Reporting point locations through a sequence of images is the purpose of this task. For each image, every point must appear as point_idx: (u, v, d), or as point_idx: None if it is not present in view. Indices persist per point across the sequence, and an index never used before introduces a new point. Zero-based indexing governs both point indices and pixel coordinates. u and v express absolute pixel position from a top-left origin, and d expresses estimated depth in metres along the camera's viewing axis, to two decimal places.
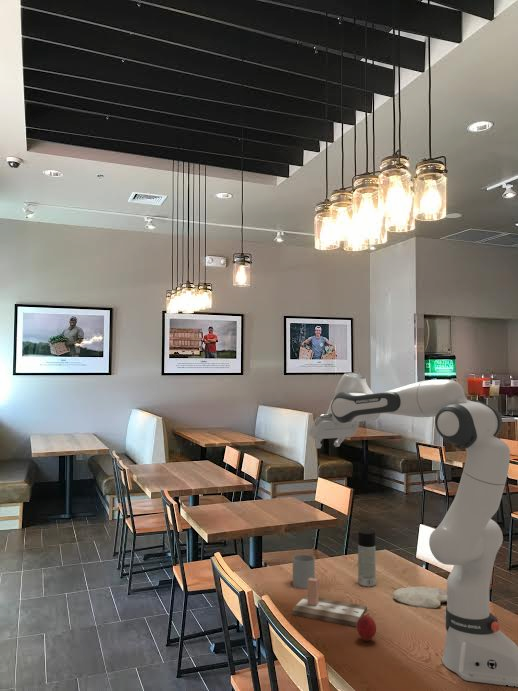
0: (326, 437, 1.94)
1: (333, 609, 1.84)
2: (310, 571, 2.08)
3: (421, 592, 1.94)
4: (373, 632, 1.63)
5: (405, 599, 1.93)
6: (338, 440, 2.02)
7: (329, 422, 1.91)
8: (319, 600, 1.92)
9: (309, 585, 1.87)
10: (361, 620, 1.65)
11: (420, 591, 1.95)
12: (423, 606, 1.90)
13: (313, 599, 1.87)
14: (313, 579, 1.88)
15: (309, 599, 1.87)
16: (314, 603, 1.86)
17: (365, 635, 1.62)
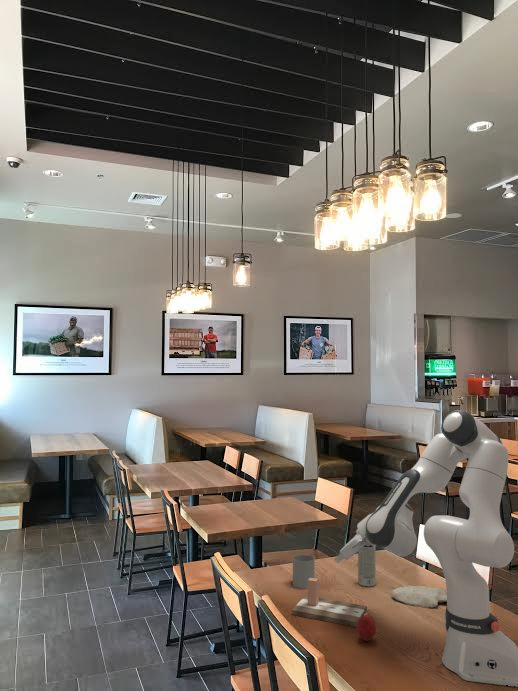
0: None
1: (333, 609, 1.84)
2: (310, 571, 2.08)
3: (419, 591, 1.95)
4: (373, 632, 1.63)
5: (402, 598, 1.94)
6: None
7: (364, 544, 1.77)
8: (319, 600, 1.92)
9: (309, 585, 1.87)
10: (361, 620, 1.65)
11: (418, 590, 1.96)
12: (420, 605, 1.91)
13: (313, 599, 1.87)
14: (313, 579, 1.88)
15: (309, 599, 1.87)
16: (314, 603, 1.86)
17: (365, 635, 1.62)
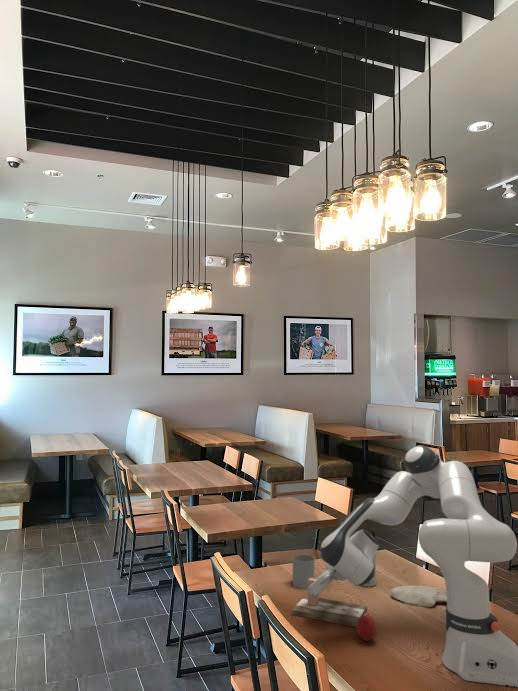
0: None
1: (333, 609, 1.84)
2: (310, 571, 2.08)
3: (417, 591, 1.95)
4: (373, 632, 1.63)
5: (400, 596, 1.96)
6: None
7: None
8: (319, 600, 1.92)
9: (309, 585, 1.87)
10: (361, 620, 1.65)
11: (417, 590, 1.96)
12: (417, 604, 1.91)
13: (313, 599, 1.87)
14: (313, 579, 1.88)
15: (309, 599, 1.87)
16: (314, 603, 1.86)
17: (365, 635, 1.62)
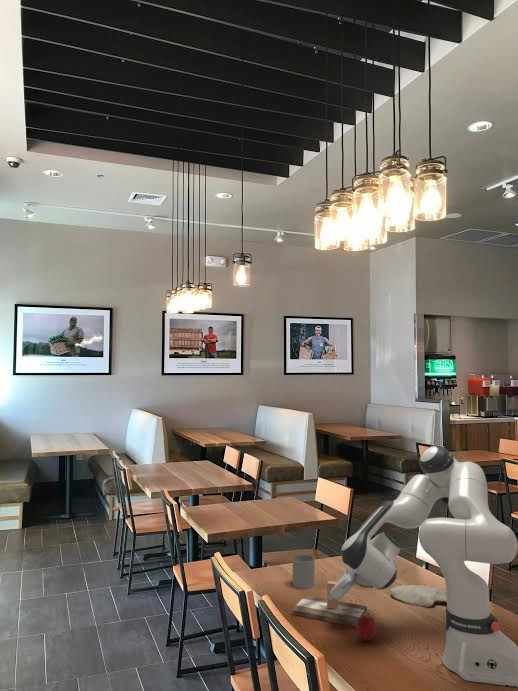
0: None
1: (333, 609, 1.84)
2: (310, 571, 2.08)
3: (417, 590, 1.96)
4: (373, 632, 1.63)
5: (399, 596, 1.96)
6: None
7: None
8: (319, 600, 1.92)
9: (328, 588, 1.85)
10: (361, 620, 1.65)
11: (416, 589, 1.97)
12: (416, 604, 1.92)
13: (332, 603, 1.84)
14: (332, 582, 1.85)
15: (328, 602, 1.84)
16: (334, 607, 1.83)
17: (365, 635, 1.62)
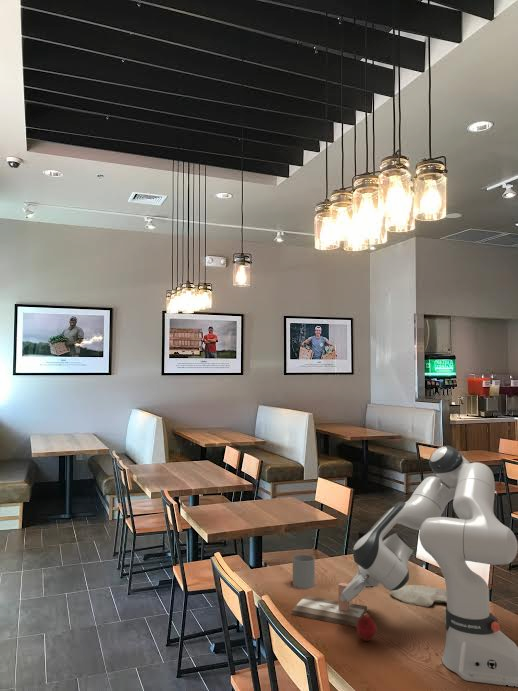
0: None
1: (333, 609, 1.84)
2: (310, 571, 2.08)
3: (416, 590, 1.96)
4: (373, 632, 1.63)
5: (399, 595, 1.96)
6: None
7: None
8: (319, 600, 1.92)
9: (340, 590, 1.83)
10: (361, 620, 1.65)
11: (416, 589, 1.97)
12: (415, 604, 1.92)
13: (344, 605, 1.82)
14: (344, 584, 1.84)
15: (340, 604, 1.83)
16: (345, 609, 1.82)
17: (365, 635, 1.62)
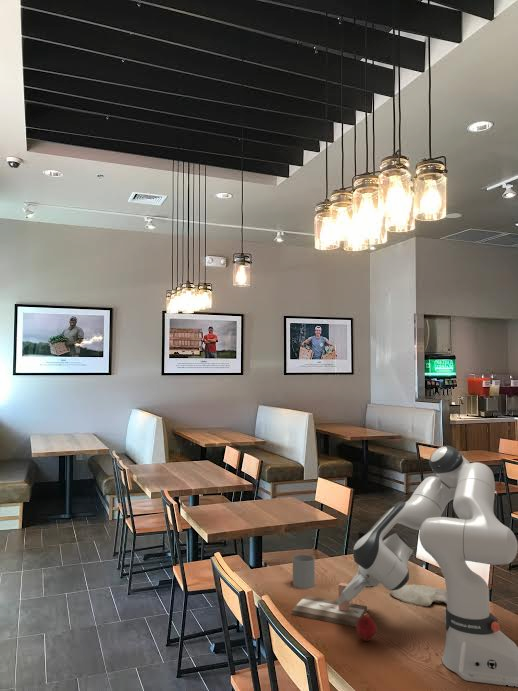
0: None
1: (333, 609, 1.84)
2: (310, 571, 2.08)
3: (416, 590, 1.96)
4: (373, 632, 1.63)
5: (398, 595, 1.97)
6: None
7: None
8: (319, 600, 1.92)
9: (340, 590, 1.83)
10: (361, 620, 1.65)
11: (416, 589, 1.97)
12: (414, 603, 1.92)
13: (344, 605, 1.82)
14: (344, 584, 1.84)
15: (340, 604, 1.83)
16: (345, 609, 1.82)
17: (365, 635, 1.62)
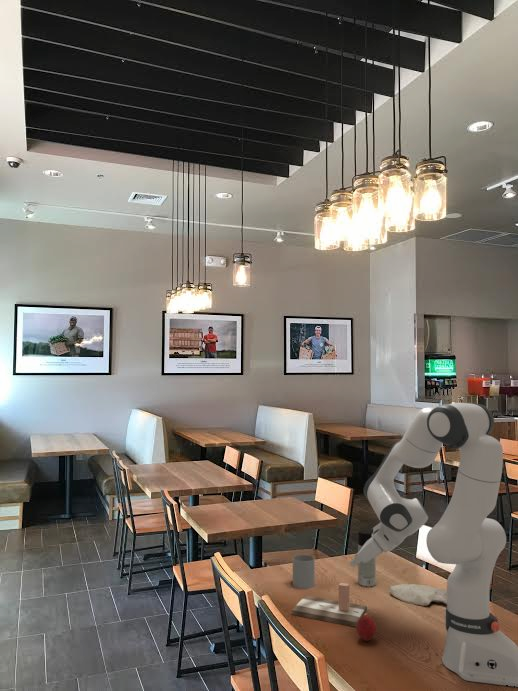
0: (364, 544, 1.87)
1: (333, 609, 1.84)
2: (310, 571, 2.08)
3: (415, 589, 1.97)
4: (373, 632, 1.63)
5: (398, 594, 1.98)
6: None
7: None
8: (319, 600, 1.92)
9: (340, 590, 1.83)
10: (361, 620, 1.65)
11: (415, 588, 1.97)
12: (413, 602, 1.93)
13: (344, 605, 1.82)
14: (344, 584, 1.84)
15: (340, 604, 1.83)
16: (345, 609, 1.82)
17: (365, 635, 1.62)
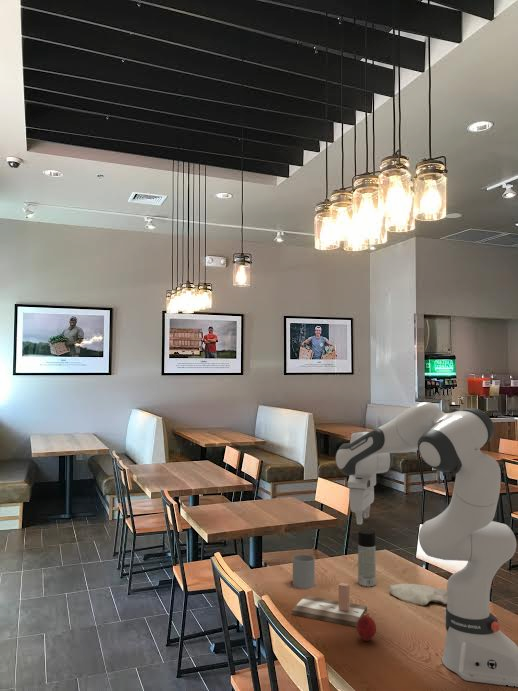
0: None
1: (333, 609, 1.84)
2: (310, 571, 2.08)
3: (414, 589, 1.97)
4: (373, 632, 1.63)
5: (397, 593, 1.99)
6: None
7: None
8: (319, 600, 1.92)
9: (340, 590, 1.83)
10: (361, 620, 1.65)
11: (414, 588, 1.98)
12: (411, 602, 1.93)
13: (344, 605, 1.82)
14: (344, 584, 1.84)
15: (340, 604, 1.83)
16: (345, 609, 1.82)
17: (365, 635, 1.62)
